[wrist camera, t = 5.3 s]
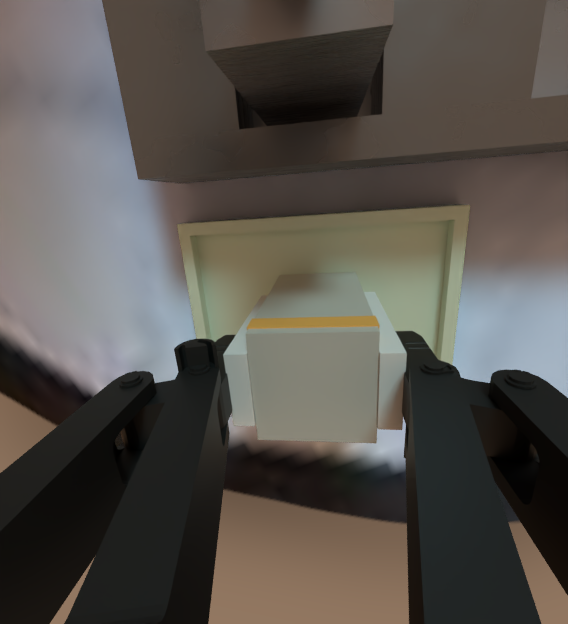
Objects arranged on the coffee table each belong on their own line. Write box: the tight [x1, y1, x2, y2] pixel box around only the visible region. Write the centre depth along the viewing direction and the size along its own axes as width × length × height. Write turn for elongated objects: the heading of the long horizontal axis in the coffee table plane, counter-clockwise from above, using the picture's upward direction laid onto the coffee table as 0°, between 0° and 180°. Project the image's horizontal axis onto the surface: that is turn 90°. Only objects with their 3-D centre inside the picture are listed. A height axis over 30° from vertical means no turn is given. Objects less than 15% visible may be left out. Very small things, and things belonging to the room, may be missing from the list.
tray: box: [177, 204, 470, 365], centre depth 18 cm, size 14×10×1 cm
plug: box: [245, 272, 380, 443], centre depth 14 cm, size 4×4×8 cm
